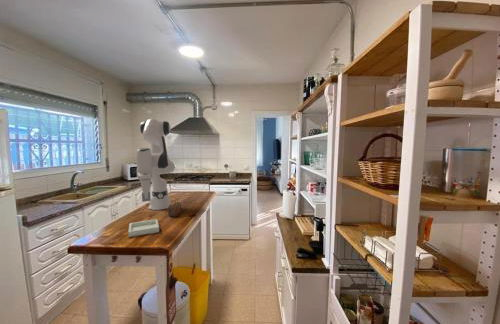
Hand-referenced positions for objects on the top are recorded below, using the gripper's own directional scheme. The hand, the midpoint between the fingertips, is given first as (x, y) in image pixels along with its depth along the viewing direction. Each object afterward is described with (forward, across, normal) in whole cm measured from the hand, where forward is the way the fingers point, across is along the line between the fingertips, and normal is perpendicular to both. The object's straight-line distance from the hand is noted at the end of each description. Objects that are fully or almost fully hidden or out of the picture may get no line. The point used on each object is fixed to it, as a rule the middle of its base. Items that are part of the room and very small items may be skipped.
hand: (146, 197), depth 134 cm
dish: (+20, 0, -2) cm, 20 cm away
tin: (+20, -24, +19) cm, 36 cm away
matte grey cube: (+2, 0, 0) cm, 2 cm away
